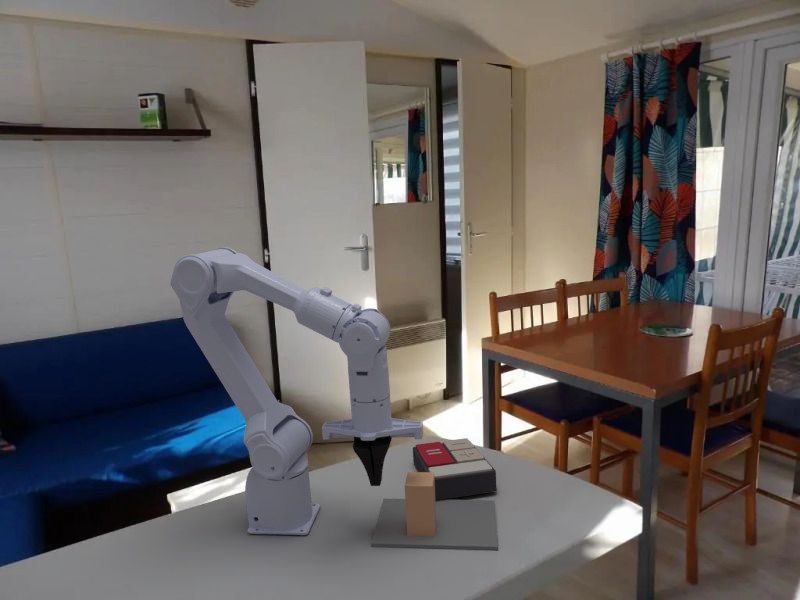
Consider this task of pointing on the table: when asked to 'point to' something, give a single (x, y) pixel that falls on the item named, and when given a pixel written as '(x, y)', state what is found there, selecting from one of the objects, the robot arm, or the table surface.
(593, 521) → the table surface
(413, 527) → the block
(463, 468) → the calculator
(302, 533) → the robot arm
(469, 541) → the mat
